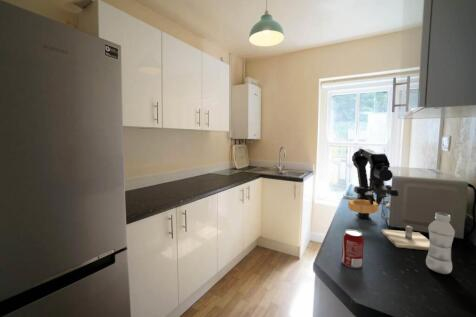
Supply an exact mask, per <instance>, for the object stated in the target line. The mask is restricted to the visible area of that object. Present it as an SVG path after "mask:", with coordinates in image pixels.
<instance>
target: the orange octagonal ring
mask: <svg viewBox="0 0 476 317" xmlns="http://www.w3.org/2000/svg"><path fill="white" fill-rule="evenodd" d="M347 205H348V206H347V207H348V209H349V210H350V211H352V212H355V213H358V212H359V213H369V214H376V213H377V212H379V206H378V204H377V203H376V201H375V202H374V201H373V204H372V205H371V204H370V202H369V200H356V199H351V200H348V203H347Z"/></svg>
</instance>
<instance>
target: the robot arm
mask: <svg viewBox="0 0 476 317" xmlns="http://www.w3.org/2000/svg"><path fill="white" fill-rule="evenodd" d="M351 160H352V164H353V166H354V167H355V168H356V171H357V178H358V186H355V187H354V188H353V191H354V193H355V194H357V197H356V198H355V200H369V202H370V204H371V205H372V204H373V201H374V202H376V203H377V204H378V207H379V206H380V204H381V203H382V201H383V200H384V199H385V198H387V197H388V196H387V194H389V195H390V196H392V197H399V191H398V190H397V189H396V188H393V189H392V185H391V184H385V182H388V181H390V180H392V178H393V176H394V175H393V174H394V173H393V172H392V171H391V169H389V168H390V166H391V165H390V164H391V163H390V161H389V158H388V156H387V155H386V153H384V152H376V151H374V150H372V149H370V147H369V148H368V147H360V148H359V149H358V150H357V151H355V152H354V153H353V155H352V156H351ZM368 164H369V168H370V171H369V178H368V174H367V168H366V167H367V165H368ZM368 181H369V182H368ZM375 195H376V197H374V196H375ZM356 215H357V216H358V217H357V216H356ZM355 216H356V217H357V218H358V219H360V218H362V220H372V217H370V213H359V212H357V213H356V214H355Z"/></svg>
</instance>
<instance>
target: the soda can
mask: <svg viewBox="0 0 476 317" xmlns="http://www.w3.org/2000/svg"><path fill="white" fill-rule="evenodd" d="M341 243H342V244H341V245H342V247H341V263H342V264H343V265H344V266H346V267H349V268H351V269H359V268H360V269H361V268H362V267H363V264H364V249H365V248H364V245H365V238H364V236H363V233H362V232H361V231H360V230H356V229H353V228H352V229H351V228H347V229H345V230H344V233H343V234H342V242H341Z"/></svg>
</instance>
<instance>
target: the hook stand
mask: <svg viewBox="0 0 476 317" xmlns="http://www.w3.org/2000/svg"><path fill="white" fill-rule="evenodd" d="M413 230H414V228H413V226H412V225H411V226H410V225H406V226H405V231H404V230H393V229H383V228H382V229H381V230H380V231H381V233H382V234H383V235H384V237H386V238H387V239H388V240H389V241H390V242H391V243H392V244H393V245H394V246H395V247H396V248H404V249H405V248H406V249H412V250H413V249H414V250H423V251H429V243H430V242H429V239H430V238H429V239H428V238H427V237H426V236H424V235H423V234H421V232H418V231H417V232H415V231H413Z"/></svg>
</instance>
